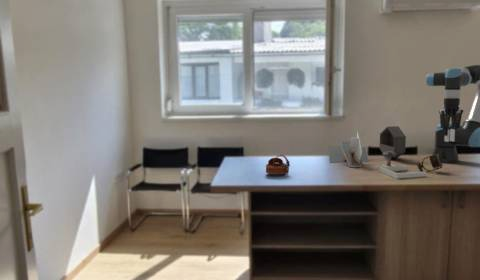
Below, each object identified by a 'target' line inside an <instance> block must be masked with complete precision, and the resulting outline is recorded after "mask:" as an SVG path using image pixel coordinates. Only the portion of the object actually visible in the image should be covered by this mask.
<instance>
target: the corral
mask: <svg viewBox="0 0 480 280" xmlns="http://www.w3.org/2000/svg"><path fill="white" fill-rule="evenodd" d="M408 170H409V165H395V166H389V167H381V166H380V167H379V172H380V173H382V174H384V175H387V176H390V177H392V178H394V179H397V180H398V179H409V178H422V177H424V178H425V177H426V176H427V171H414V172H413V171H411V172H400V171H408ZM398 171H399V172H398Z"/></svg>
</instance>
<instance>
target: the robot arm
mask: <svg viewBox="0 0 480 280" xmlns="http://www.w3.org/2000/svg"><path fill="white" fill-rule="evenodd" d="M425 81H426V82H425V84H426V86H428V87H444V95H443V97H444V99H443V105H444V106H443V108H442V109H441V110H439V111H438V113H439V123H438V124H437V125H436V126H435V131H434V132H435V134H434V137H435V138H434V148H433V151H432V154H431V155H435V154H438V155H439V157H440V159H441V162H442V164H443V163H445V164H446V163H447V164H452V163H453V164H454V163H458V162H459V160H460V159H459V155H458V151H457V146H462V147H470V148H480V64H473V65H468V66H464V67H459V68H457V67H456V68H447V69H446V70H445V71H442V72H430V73H428V74H427V75H426V78H425ZM468 85H476V87H477V88H476V91H475V94H474V98H473V100H472V104H471V106H470V109H469V112H468V116H467V119H466V120H464V121H463V122H462V115H463V113H464V110H463V109H460V107H459V106H460V103H461V99H460V97H461V87H466V86H468ZM461 122H462V125H461Z"/></svg>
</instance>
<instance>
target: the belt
mask: <svg viewBox="0 0 480 280" xmlns="http://www.w3.org/2000/svg"><path fill="white" fill-rule="evenodd" d="M280 157H283V158H284V159H285V162H284V160H283V159H282V158H280ZM290 166H291V164H290V161H289V159H288V157H287V156H285V155H283V154H279V155H277V156H276V157H271V158H270V159H268V161H267V164H265V173H266V174H267V175H268V174H269V175H284V174H285V175H288V174H289V173H290Z"/></svg>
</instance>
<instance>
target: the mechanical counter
mask: <svg viewBox="0 0 480 280" xmlns="http://www.w3.org/2000/svg"><path fill="white" fill-rule="evenodd" d="M428 158H429V162H430V164H431V167H432V169H427V168H426V167H425V166H424V161H425V160H426V159H428ZM416 166H417V169H418V170H419V172H424V171H423V170H425V171H426V172H427V171H428V172H433V171H436V170H440V169H442V168H443V166H444V165H443V163H442V162H441V159H440V157H439V155H438V154H435V155H432V154H431V155H428V156H426V157H424V158H423V159H422V161H421V162H419V161H418V162H417V164H416Z"/></svg>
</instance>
